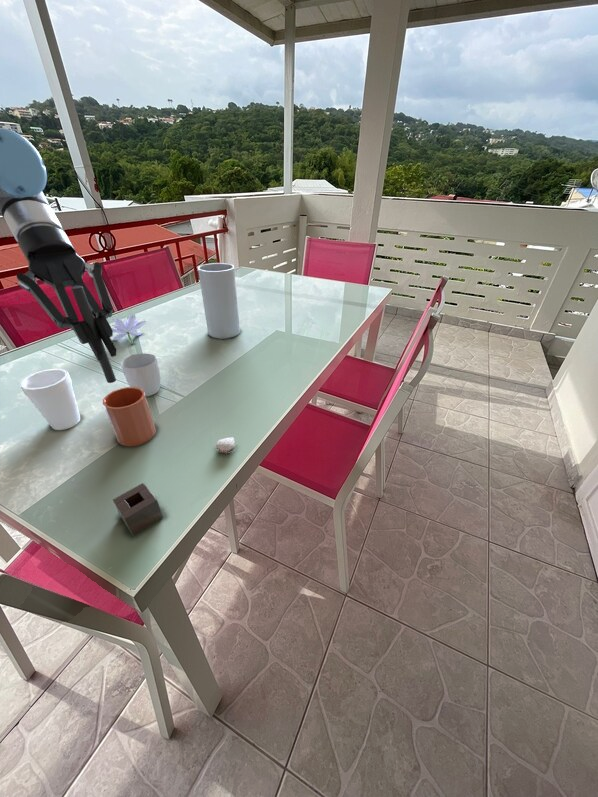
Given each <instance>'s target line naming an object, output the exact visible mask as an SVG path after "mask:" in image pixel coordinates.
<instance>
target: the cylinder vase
mask: <svg viewBox="0 0 598 797" xmlns="http://www.w3.org/2000/svg"><path fill="white" fill-rule="evenodd" d="M197 271H198V278H199V284H200V290H201V297H202V304H203V309H204V316H205V322H206V329H207V334H208V335H209V336H210V337H211V338H214V339H221V340H225V339H231V338H234V337H237V336H238V335H239V334H240V332H241V326H240V315H239V306H238V294H237V285H236V274H235V266H234V265H233V264H231V263H225V262H213V263H205V264H201V265H199V266H198V267H197Z"/></svg>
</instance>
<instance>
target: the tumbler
mask: <svg viewBox="0 0 598 797" xmlns="http://www.w3.org/2000/svg"><path fill="white" fill-rule="evenodd" d="M102 406H103V408H104V411H105V413H106V415H107V418H108V421H109V423H110V425H111V428H112V431H113V433H114V435H115V438H116V440H117V443H119V445H122V446H125V447H137V446H140V445H142V444H145V443H147V442H148V441H151V439H152V438H153V437H154V436H155V434H156V431H157V429H156V425H155V421H154V419H153V415H152V411H151V409H150V406H149V402H148V399H147V396H146V395H145V392H144V391H143V390H142V389H141V388H137V387H130V386H128V387H122V388H118V389H115V390H112V391H111V392H109V393H108V394H106V395H105V396H104V398H103V399H102Z"/></svg>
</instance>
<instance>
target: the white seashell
mask: <svg viewBox="0 0 598 797" xmlns="http://www.w3.org/2000/svg"><path fill="white" fill-rule="evenodd" d="M235 447H236V441H235V438H234V437H226V438H221V439H219V440H217V442H216V443H215V448H216V451H218V452H219V453H221V454H230V453H232V452H233V451H234V449H235Z"/></svg>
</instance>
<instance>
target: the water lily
mask: <svg viewBox="0 0 598 797" xmlns="http://www.w3.org/2000/svg"><path fill="white" fill-rule="evenodd" d="M136 319H137V316H136V314H131V316H130V317H128V318H127V319H126V321H124V320H123V319H122V318H121V317H118V318H113V319H112V322H113V323H114V324H112V325H111V326H112V327H113V328H112V330H113V333H117V334H116V336H113V338H112V341H118V340H121V339H123V338H124V337H125V336H126V335H127V336H128V339H129V341H130V344H131V345H134V341H133V339H132V338H131V337H132V336H141V335H142V334H143V332H142V331H137V330H139V329H140V328H142V327H143V326H144V325H145V324H146V323H147V320H142V321H139V320H136ZM138 321H139V322H138Z"/></svg>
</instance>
